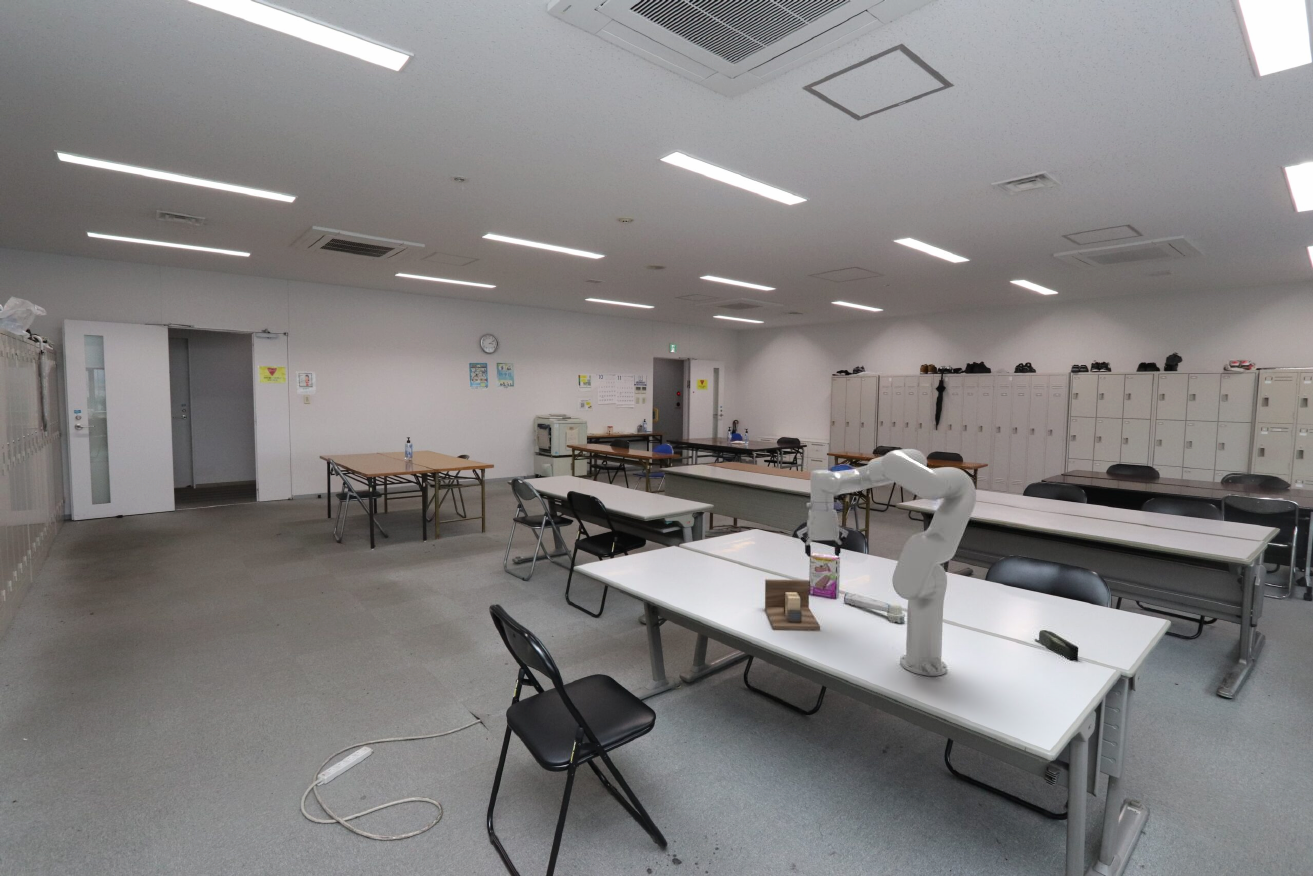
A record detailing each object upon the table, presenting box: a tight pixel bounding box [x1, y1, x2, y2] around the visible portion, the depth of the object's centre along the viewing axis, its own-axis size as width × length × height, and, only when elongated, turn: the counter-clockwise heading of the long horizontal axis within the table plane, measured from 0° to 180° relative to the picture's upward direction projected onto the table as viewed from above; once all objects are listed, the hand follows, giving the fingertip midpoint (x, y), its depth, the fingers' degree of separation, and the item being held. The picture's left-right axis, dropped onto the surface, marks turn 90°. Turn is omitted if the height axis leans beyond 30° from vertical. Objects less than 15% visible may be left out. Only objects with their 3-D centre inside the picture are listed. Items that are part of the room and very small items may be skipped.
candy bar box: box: [808, 552, 841, 600], centre depth 234 cm, size 11×5×16 cm, turn 59°
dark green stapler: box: [1033, 629, 1079, 661], centre depth 183 cm, size 5×3×15 cm
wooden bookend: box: [764, 578, 821, 631], centre depth 209 cm, size 20×16×12 cm
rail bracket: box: [785, 592, 800, 618], centre depth 207 cm, size 6×4×8 cm, turn 178°
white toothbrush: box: [843, 593, 906, 624], centre depth 215 cm, size 5×7×25 cm
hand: (822, 555), depth 200 cm, fingers open, 9 cm apart
